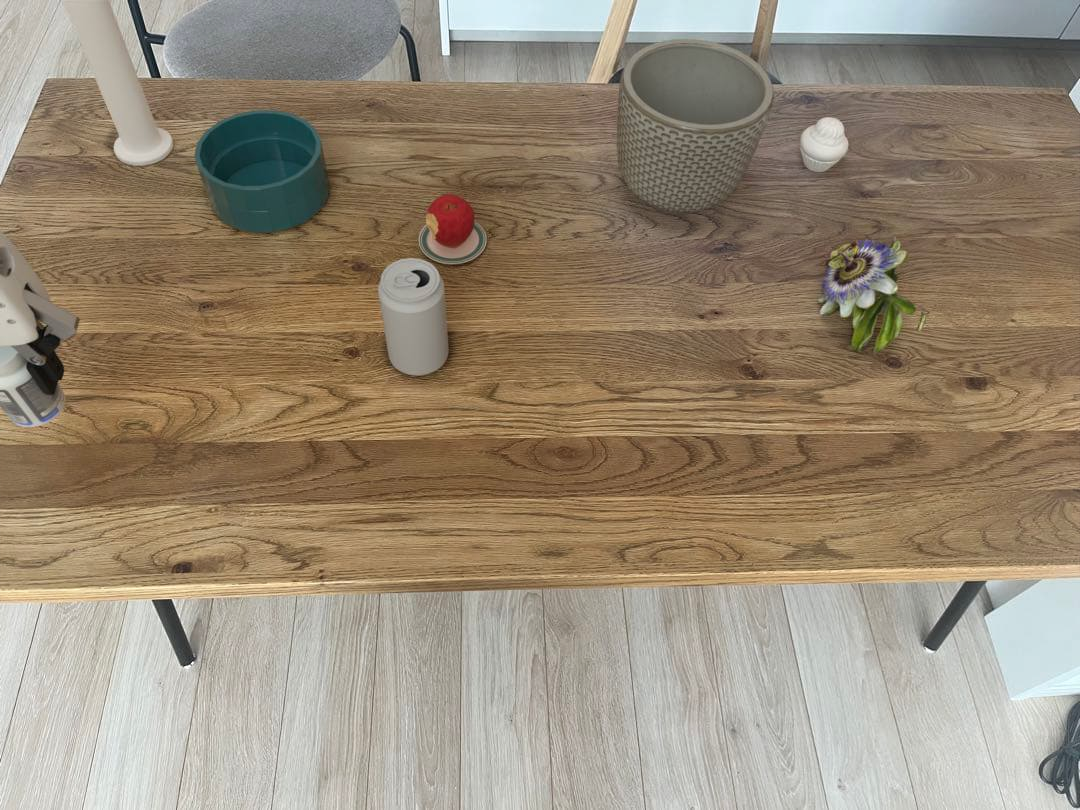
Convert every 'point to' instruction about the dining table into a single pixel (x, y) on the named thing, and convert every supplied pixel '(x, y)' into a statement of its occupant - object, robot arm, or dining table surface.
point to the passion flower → (867, 290)
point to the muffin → (823, 144)
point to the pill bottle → (25, 393)
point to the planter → (689, 122)
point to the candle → (118, 83)
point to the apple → (451, 231)
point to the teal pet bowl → (263, 170)
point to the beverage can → (414, 316)
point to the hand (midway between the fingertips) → (19, 380)
